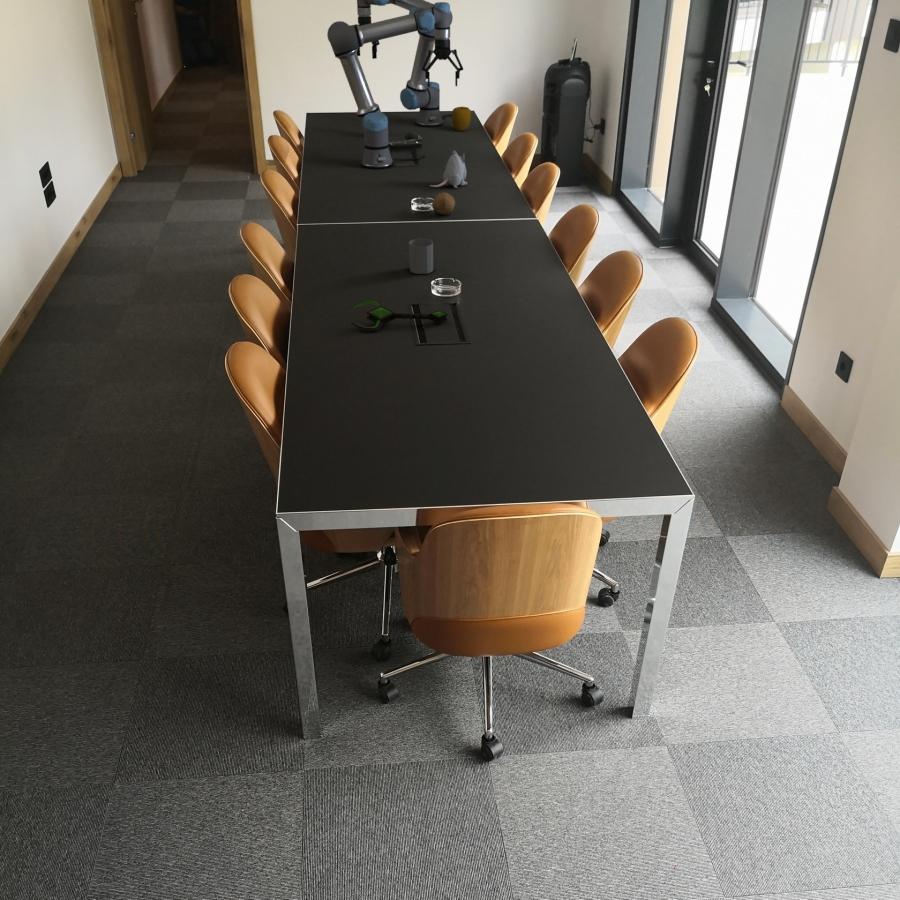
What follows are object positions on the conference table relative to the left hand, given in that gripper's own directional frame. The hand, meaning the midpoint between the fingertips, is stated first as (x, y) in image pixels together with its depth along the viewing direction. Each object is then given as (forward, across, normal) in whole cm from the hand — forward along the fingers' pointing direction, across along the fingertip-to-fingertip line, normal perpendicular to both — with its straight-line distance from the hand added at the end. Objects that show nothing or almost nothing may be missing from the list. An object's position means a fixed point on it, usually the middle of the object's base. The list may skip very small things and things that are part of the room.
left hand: (442, 86), depth 426 cm
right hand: (-1, +38, -86) cm, 94 cm away
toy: (+33, +2, +60) cm, 68 cm away
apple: (+33, -14, -54) cm, 65 cm away
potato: (+33, +6, +97) cm, 102 cm away
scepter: (+33, +27, +206) cm, 211 cm away
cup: (+33, +18, +161) cm, 165 cm away
